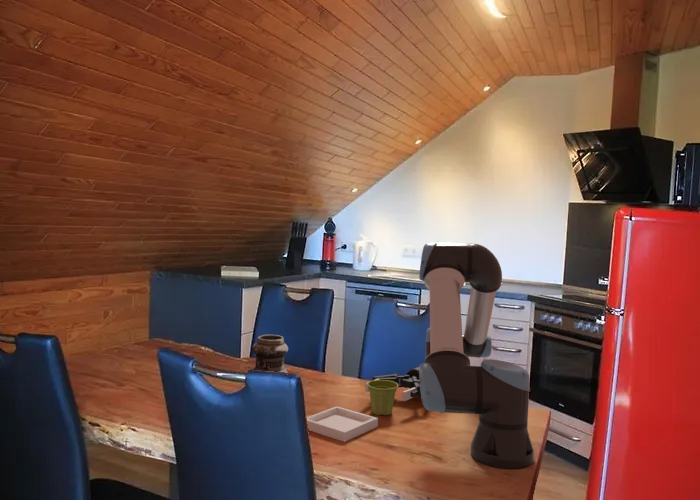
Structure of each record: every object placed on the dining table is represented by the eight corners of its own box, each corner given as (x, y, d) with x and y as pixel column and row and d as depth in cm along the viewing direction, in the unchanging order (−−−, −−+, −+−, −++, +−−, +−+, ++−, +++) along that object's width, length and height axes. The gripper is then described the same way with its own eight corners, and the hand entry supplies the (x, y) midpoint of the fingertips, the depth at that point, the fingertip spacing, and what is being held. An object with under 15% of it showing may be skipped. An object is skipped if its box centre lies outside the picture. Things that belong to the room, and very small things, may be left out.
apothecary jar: (276, 397, 187) (277, 342, 186) (243, 392, 191) (245, 338, 190) (293, 387, 198) (294, 335, 197) (262, 383, 202) (263, 332, 201)
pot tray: (377, 426, 163) (378, 417, 163) (344, 441, 151) (344, 432, 151) (336, 414, 172) (336, 406, 172) (301, 427, 160) (302, 419, 160)
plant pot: (403, 412, 175) (404, 384, 175) (383, 420, 168) (384, 390, 168) (380, 405, 182) (381, 378, 181) (359, 412, 175) (360, 383, 174)
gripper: (454, 397, 186) (419, 413, 169) (389, 382, 201) (351, 395, 184) (454, 374, 185) (420, 387, 169) (390, 360, 201) (352, 372, 184)
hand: (384, 391), depth 176 cm, fingers open, 13 cm apart
